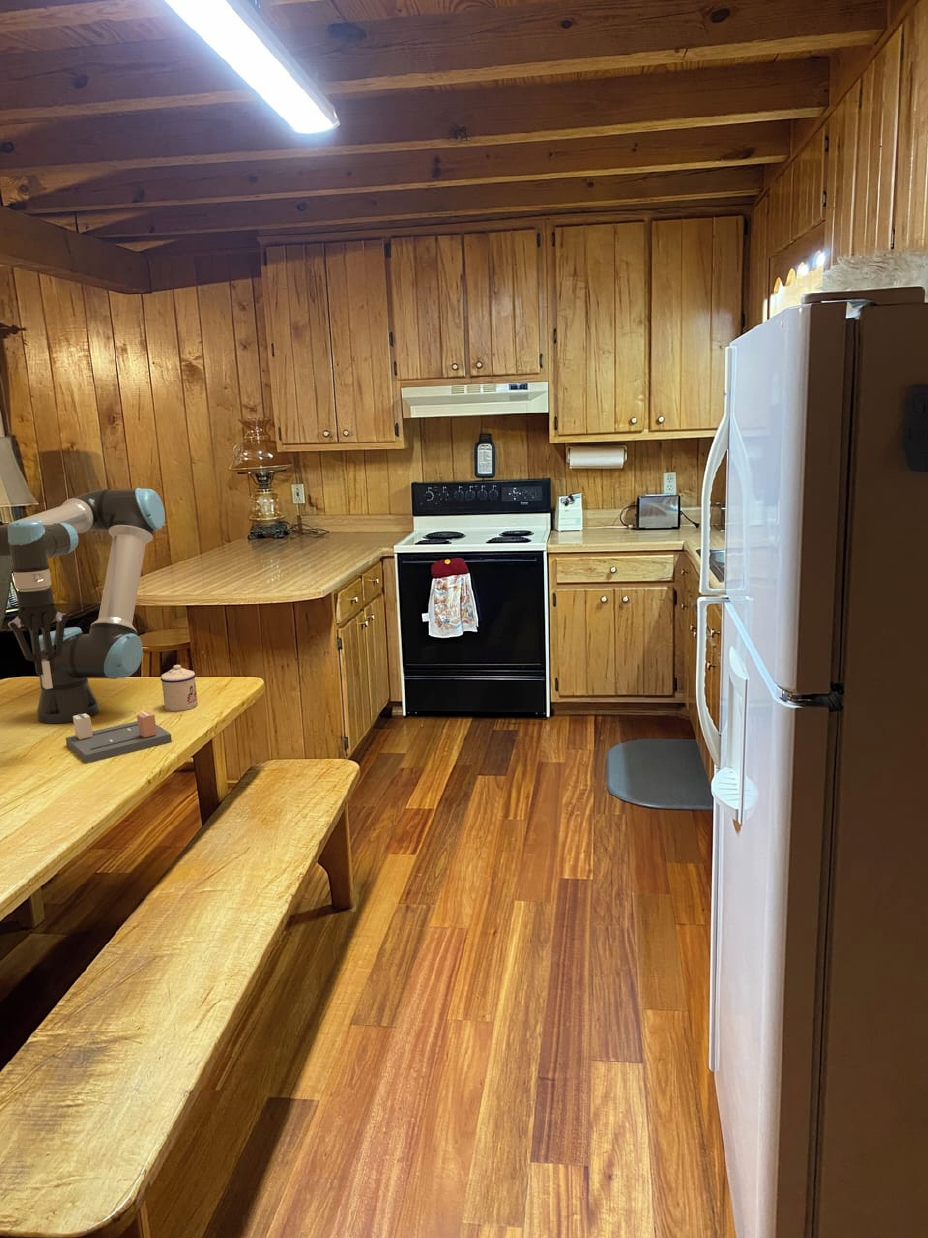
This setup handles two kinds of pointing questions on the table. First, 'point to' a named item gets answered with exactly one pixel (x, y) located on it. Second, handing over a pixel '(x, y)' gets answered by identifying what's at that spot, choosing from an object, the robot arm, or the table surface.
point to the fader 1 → (82, 726)
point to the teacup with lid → (179, 689)
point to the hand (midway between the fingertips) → (47, 687)
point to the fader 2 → (146, 724)
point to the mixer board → (115, 742)
